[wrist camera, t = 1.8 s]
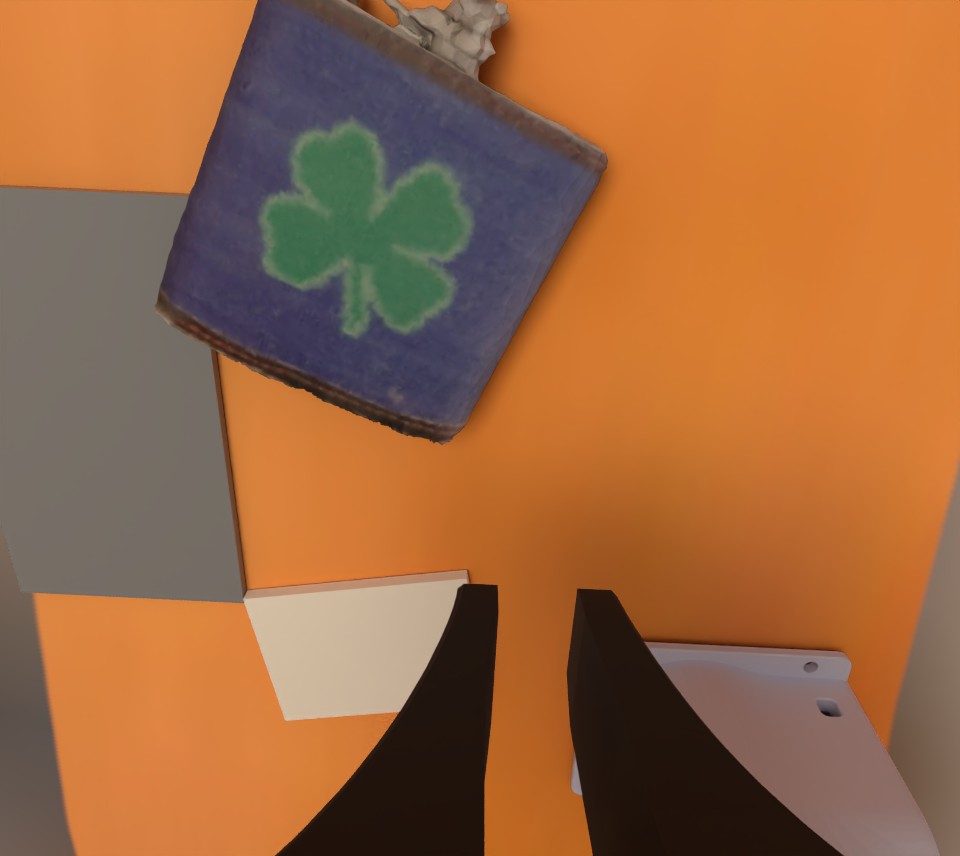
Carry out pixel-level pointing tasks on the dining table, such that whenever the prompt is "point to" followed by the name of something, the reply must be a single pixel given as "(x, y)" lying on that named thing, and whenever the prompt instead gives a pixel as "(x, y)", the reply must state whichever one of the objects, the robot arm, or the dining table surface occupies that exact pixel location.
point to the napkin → (351, 640)
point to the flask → (373, 211)
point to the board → (107, 407)
